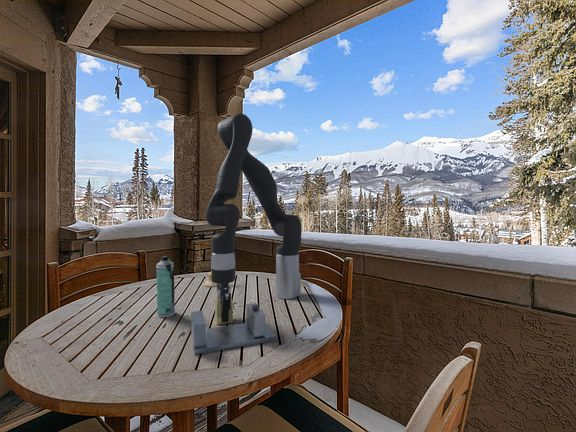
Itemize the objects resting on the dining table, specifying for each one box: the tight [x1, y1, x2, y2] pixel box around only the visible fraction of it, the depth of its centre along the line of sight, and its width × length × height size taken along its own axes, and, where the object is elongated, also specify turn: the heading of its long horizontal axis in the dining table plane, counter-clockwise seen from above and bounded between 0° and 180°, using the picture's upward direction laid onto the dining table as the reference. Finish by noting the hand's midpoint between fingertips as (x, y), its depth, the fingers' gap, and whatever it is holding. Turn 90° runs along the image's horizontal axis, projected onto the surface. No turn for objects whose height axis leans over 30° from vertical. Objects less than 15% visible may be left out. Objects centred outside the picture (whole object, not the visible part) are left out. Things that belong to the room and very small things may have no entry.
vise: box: [190, 310, 278, 355], centre depth 86 cm, size 22×12×7 cm, turn 111°
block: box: [214, 298, 234, 325], centre depth 98 cm, size 5×4×7 cm
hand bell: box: [203, 252, 217, 288], centre depth 141 cm, size 8×8×16 cm
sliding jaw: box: [245, 302, 266, 337], centre depth 89 cm, size 3×10×7 cm, turn 21°
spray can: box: [156, 255, 176, 318], centre depth 104 cm, size 6×6×20 cm
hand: (223, 318), depth 98 cm, fingers closed on block, 4 cm apart
